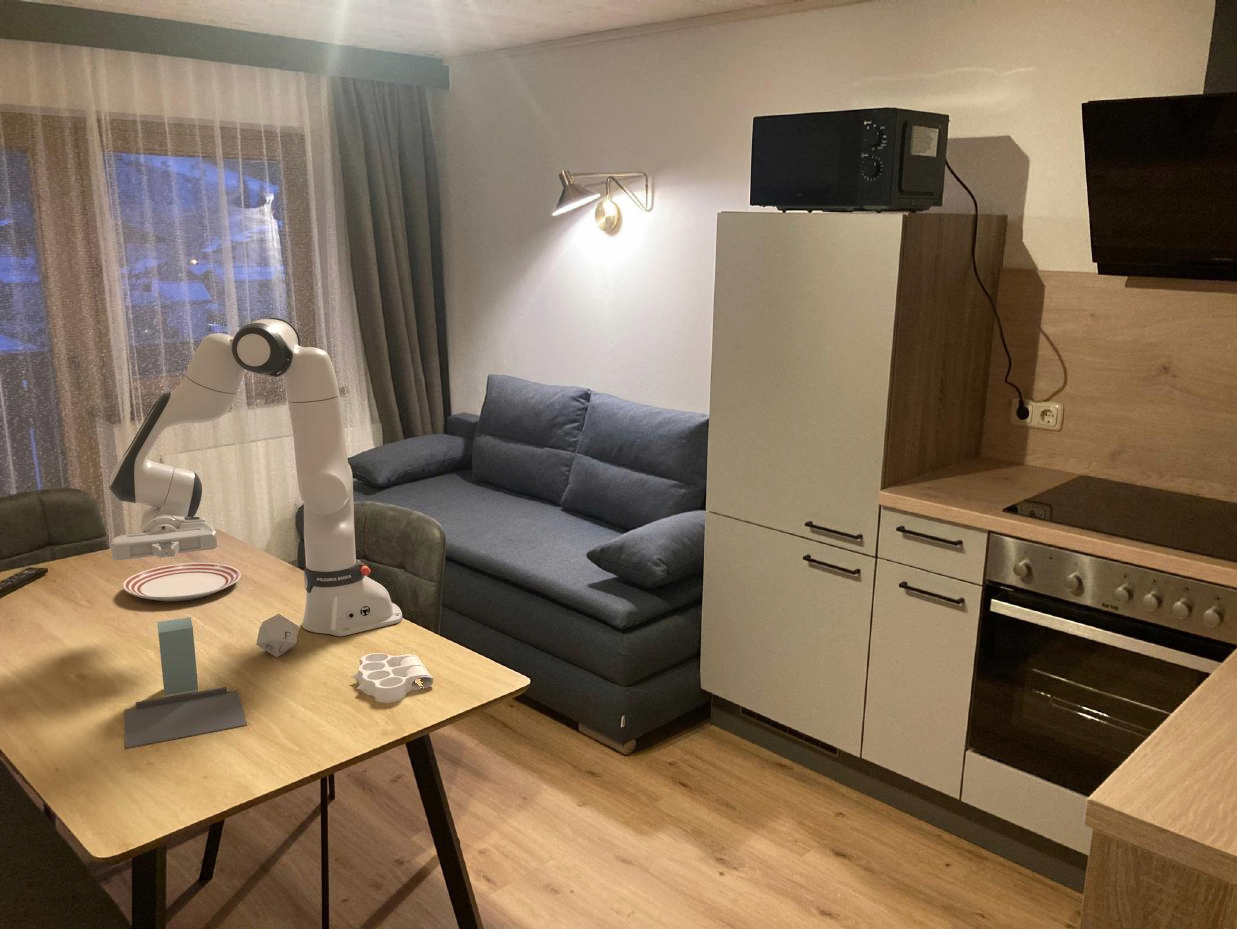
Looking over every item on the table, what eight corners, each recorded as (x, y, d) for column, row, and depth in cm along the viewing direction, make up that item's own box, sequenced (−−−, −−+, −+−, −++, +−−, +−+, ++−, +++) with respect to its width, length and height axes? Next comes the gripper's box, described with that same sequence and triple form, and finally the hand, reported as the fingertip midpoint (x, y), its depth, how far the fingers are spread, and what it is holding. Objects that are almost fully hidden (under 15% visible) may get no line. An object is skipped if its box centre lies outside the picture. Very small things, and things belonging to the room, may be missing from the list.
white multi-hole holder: (438, 695, 194) (363, 709, 188) (414, 660, 210) (344, 672, 204) (437, 679, 194) (362, 693, 187) (414, 646, 209) (344, 657, 203)
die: (252, 663, 208) (273, 633, 205) (246, 632, 214) (266, 602, 210) (289, 667, 214) (309, 637, 210) (282, 636, 219) (301, 607, 216)
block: (196, 683, 198) (190, 617, 195) (198, 695, 192) (192, 627, 189) (163, 688, 195) (157, 621, 192) (165, 701, 190) (158, 632, 187)
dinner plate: (202, 565, 269) (201, 553, 268) (263, 586, 254) (262, 574, 253) (102, 593, 247) (100, 580, 247) (162, 618, 232) (160, 604, 231)
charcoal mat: (237, 690, 195) (237, 684, 194) (247, 725, 181) (246, 719, 180) (124, 710, 186) (123, 704, 186) (125, 748, 172) (124, 742, 172)
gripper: (108, 526, 208) (108, 544, 196) (212, 516, 217) (218, 532, 205) (111, 555, 210) (111, 575, 198) (214, 543, 219) (220, 561, 207)
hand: (166, 553), depth 202 cm, fingers closed
